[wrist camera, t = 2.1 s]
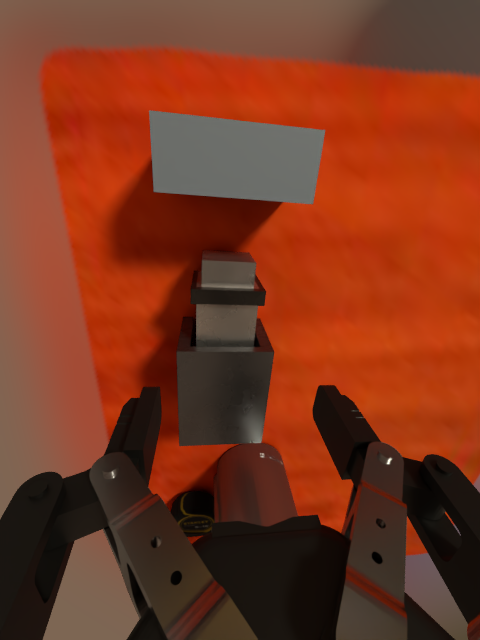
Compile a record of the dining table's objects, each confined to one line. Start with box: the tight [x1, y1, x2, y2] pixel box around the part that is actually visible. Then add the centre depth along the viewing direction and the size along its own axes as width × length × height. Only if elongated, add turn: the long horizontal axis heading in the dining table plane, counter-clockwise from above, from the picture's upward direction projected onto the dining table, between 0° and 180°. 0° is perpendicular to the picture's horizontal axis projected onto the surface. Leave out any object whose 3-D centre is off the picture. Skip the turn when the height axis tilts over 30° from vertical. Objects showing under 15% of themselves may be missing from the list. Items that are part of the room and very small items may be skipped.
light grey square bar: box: [191, 250, 266, 347], centre depth 26 cm, size 17×6×6 cm, turn 176°
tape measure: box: [171, 491, 215, 537], centre depth 39 cm, size 7×7×4 cm
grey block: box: [149, 111, 325, 204], centre depth 20 cm, size 4×10×7 cm, turn 86°
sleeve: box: [177, 317, 274, 446], centre depth 27 cm, size 10×8×7 cm
